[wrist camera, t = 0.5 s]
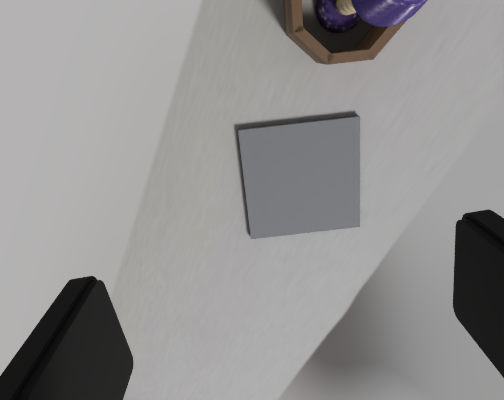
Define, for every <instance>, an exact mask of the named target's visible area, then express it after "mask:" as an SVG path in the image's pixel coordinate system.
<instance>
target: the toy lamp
mask: <svg viewBox="0 0 504 400" xmlns="http://www.w3.org/2000/svg"><path fill="white" fill-rule="evenodd" d="M426 2H427V0H317V4H316V14H317V18H318V20H319V22H320V24H321V25H322V26H323V27H324V28H325V29H326V30H328V31H330V32H333V33H343V32H346V31H348V30H350V29H351V28H353V27H354V26H355V25H356V24H357V23H358V21H359V20H360V18H362V19H363V20H364V21H365V22H368V23H369V24H371V25H375V26H378V27H390V26H394V25H398V24H400V23H403V22H404V21H406V20H408V19H409V18H410V17H412V16H413V15H414V14H415V13H416V12H417V11H418V10H419V9H420V8H421V7H422V6H423V5H424V4H425V3H426Z"/></svg>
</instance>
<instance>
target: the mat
mask: <svg viewBox="0 0 504 400" xmlns="http://www.w3.org/2000/svg"><path fill="white" fill-rule="evenodd" d="M238 134H239V143H240V151H241V160H242V168H243V176H244V185H245V193H246V202H247V210H248V219H249V227H250V235H251V239H256V238H265V237H273V236H282V235H291V234H300V233H309V232H317V231H326V230H335V229H344V228H352V227H360V117H359V116H351V117H342V118H333V119H325V120H316V121H307V122H298V123H289V124H280V125H272V126H263V127H254V128H245V129H238Z"/></svg>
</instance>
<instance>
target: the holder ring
mask: <svg viewBox="0 0 504 400" xmlns="http://www.w3.org/2000/svg"><path fill="white" fill-rule="evenodd" d="M284 8H285V24H286V35H287V36H288V37H289V38H290V39H291V40H292V41H293V42H295V43H296V44H297V45H298V46H299V47H300V48H301V49H302V50H303V51H304V52H306V53H307V54H308V55H309V56H310V57H311V58H312V59H313V60H314V61H315V62H316V63H322V64H337V63H346V62H354V61H363V60H372V59H374V58H375V57H376V55H377V54H378V53H379V52H380V51H381V50H382V49H383V47H384V46H385V45H386V44H387V43H388V42H389V40H390V39H391V38H392V37H393V36H394V35H395V33H396V32H397V31H398V30H399V29H400V28H401V26H402V25H403V24H404V23H405V22H406V21H407V20H406V21H404V22H403V23H400V24H398V25H394V26H390V27H378V26H375V25H373V27H372V28H371V29H370V30H369V31H368V33H367V34H366V35H365V36H364V37H363V39H362V40H361V41H360V42H359V43H358V45H357V46H356V47H355V48H354V49H353V50H344V51H335V52H329V51H328V50H327V49H326V48H325V47H323V46H322V45H321V44H320V43H319V42H318V41H317V40H316V39H315V38H314V37H313V36H312V35H311V34H310V33H308V32H307V31H306V30H305V29H304V28H303V18H302V0H284Z"/></svg>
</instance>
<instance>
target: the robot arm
mask: <svg viewBox="0 0 504 400" xmlns="http://www.w3.org/2000/svg"><path fill="white" fill-rule="evenodd" d="M455 237H456V238H455V265H454V292H453V308H454V312H455V315H456V317H457V318H458V320H459V321H460V322H461V324H462V325H463V326H464V328H465V329H466V330H467V331H468V333H469V334H470V335H471V337H472V338H473V339H474V340H475V342H477V344H478V346H479V347H480V348H481V349H482V350H483V352H484V353H485V354H486V356H487V357H488V358H489V359H490V361H491V362H492V363H493V365H494V366H495V367H496V368H497V370H498V371H499V372H500V373H501V375H502V376H503V377H504V218H502V217H501V216H499V215H497V214H496V213H495V212H493V211H491V210H484V211H477V212H471V213H466V214H464V215H463V217H462V220H458V221H457V223H456V236H455ZM132 370H133V357H132V354H131V351H130V349H129V346H128V343H127V341H126V338H125V336H124V333H123V331H122V328H121V325H120V323H119V320H118V318H117V315H116V313H115V310H114V308H113V305H112V302H111V300H110V297H109V295H108V292H107V290H106V287H105V285H104V283H103V282H102V281H101V280H98V281H97V279H96V278H95V277H93V276H89V277H83V278H77V279H72V280H70V281H69V282H68V283H67V284H66V285H65V287H64V288H63V290H62V291H61V292H60V294H59V295H58V297H57V298H56V299H55V301H54V302H53V303H52V305H51V306H50V308H49V309H48V310H47V312H46V313H45V315H44V316H43V317H42V319H41V320H40V322H39V323H38V324H37V326H36V327H35V329H34V330H33V331H32V333H31V334H30V336H29V337H28V339H27V340H26V341H25V343H24V344H23V345H22V347H21V348H20V349H19V351H18V352H17V354H16V355H15V357H14V358H13V359H12V361H11V362H10V363H9V365H8V366H7V368H6V369H5V370H4V372H3V373H2V374H1V376H0V400H123V397H124V394H125V391H126V388H127V385H128V382H129V379H130V376H131V373H132Z"/></svg>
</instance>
